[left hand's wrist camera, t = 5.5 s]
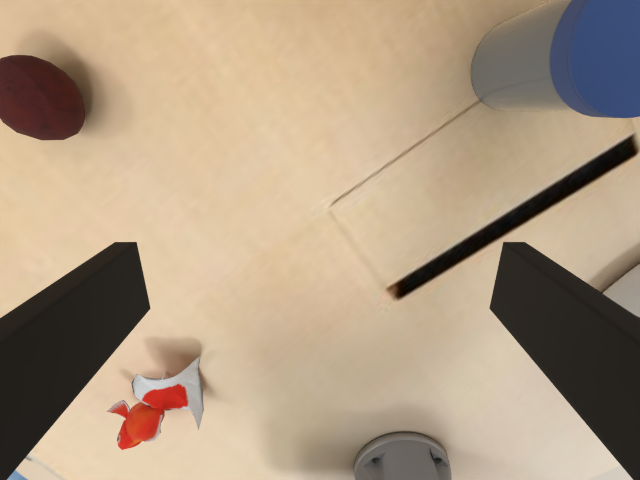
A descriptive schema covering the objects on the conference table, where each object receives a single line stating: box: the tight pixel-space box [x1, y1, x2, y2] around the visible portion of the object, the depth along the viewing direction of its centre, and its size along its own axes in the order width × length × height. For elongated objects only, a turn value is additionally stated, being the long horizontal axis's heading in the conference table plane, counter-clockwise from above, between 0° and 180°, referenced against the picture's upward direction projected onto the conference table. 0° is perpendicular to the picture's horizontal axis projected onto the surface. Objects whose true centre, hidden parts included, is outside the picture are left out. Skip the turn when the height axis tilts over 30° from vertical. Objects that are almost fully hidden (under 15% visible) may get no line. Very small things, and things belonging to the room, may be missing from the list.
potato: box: [0, 55, 85, 140], centre depth 33 cm, size 7×8×7 cm
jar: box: [471, 0, 576, 112], centre depth 28 cm, size 8×8×15 cm
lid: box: [549, 0, 640, 118], centre depth 21 cm, size 9×9×2 cm
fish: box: [108, 356, 204, 450], centre depth 46 cm, size 11×16×10 cm
